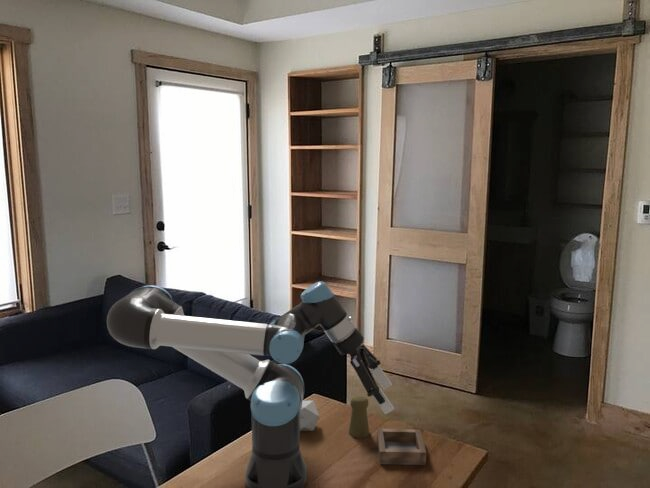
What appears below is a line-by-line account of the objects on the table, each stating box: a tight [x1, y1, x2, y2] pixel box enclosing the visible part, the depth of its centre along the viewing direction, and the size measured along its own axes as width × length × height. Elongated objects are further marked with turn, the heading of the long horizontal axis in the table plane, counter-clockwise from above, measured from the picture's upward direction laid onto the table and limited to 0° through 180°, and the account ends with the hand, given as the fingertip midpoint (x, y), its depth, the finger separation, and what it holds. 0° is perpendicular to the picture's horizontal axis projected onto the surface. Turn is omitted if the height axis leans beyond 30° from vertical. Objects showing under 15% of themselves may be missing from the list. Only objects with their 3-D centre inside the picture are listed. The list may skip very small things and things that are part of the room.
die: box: [300, 400, 320, 432], centre depth 158 cm, size 8×9×10 cm
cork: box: [348, 394, 370, 439], centre depth 155 cm, size 6×6×11 cm
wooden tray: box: [376, 428, 427, 466], centre depth 146 cm, size 12×12×4 cm
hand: (388, 398), depth 144 cm, fingers open, 13 cm apart
